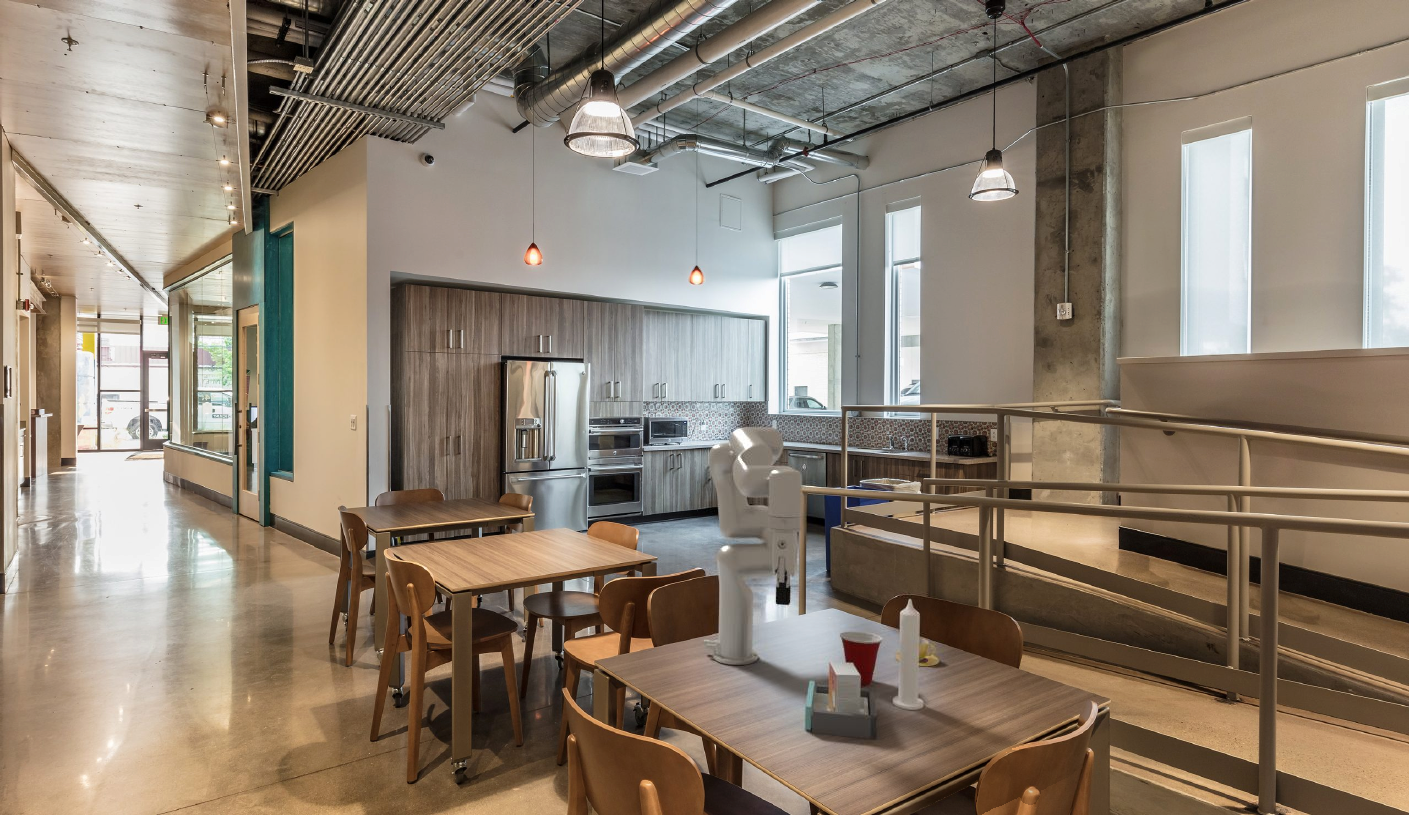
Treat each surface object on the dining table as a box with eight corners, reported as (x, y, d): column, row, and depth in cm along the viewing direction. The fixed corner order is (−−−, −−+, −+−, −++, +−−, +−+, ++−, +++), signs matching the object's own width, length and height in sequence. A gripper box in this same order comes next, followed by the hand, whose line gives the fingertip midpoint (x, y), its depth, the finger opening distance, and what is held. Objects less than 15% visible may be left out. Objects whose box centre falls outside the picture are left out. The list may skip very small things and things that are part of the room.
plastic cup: (886, 678, 189) (887, 632, 189) (876, 692, 179) (877, 643, 179) (845, 670, 194) (846, 625, 194) (833, 684, 184) (834, 636, 184)
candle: (924, 700, 175) (926, 596, 175) (922, 712, 168) (925, 604, 168) (893, 696, 177) (896, 593, 177) (891, 707, 170) (893, 600, 170)
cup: (891, 663, 201) (891, 643, 201) (898, 650, 212) (898, 631, 212) (936, 670, 196) (937, 650, 196) (941, 656, 207) (941, 637, 207)
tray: (805, 729, 157) (805, 706, 157) (809, 701, 172) (809, 680, 172) (868, 736, 154) (869, 712, 154) (867, 707, 169) (867, 686, 169)
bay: (812, 732, 156) (812, 711, 156) (816, 703, 172) (816, 684, 172) (876, 739, 153) (876, 718, 153) (874, 708, 169) (874, 689, 169)
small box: (827, 707, 167) (828, 661, 167) (852, 707, 167) (853, 661, 167) (834, 722, 159) (835, 674, 159) (860, 722, 159) (861, 674, 159)
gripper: (798, 529, 157) (797, 614, 157) (803, 519, 172) (801, 596, 172) (764, 527, 159) (762, 611, 159) (771, 517, 174) (770, 594, 174)
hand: (782, 603), depth 166 cm, fingers closed
